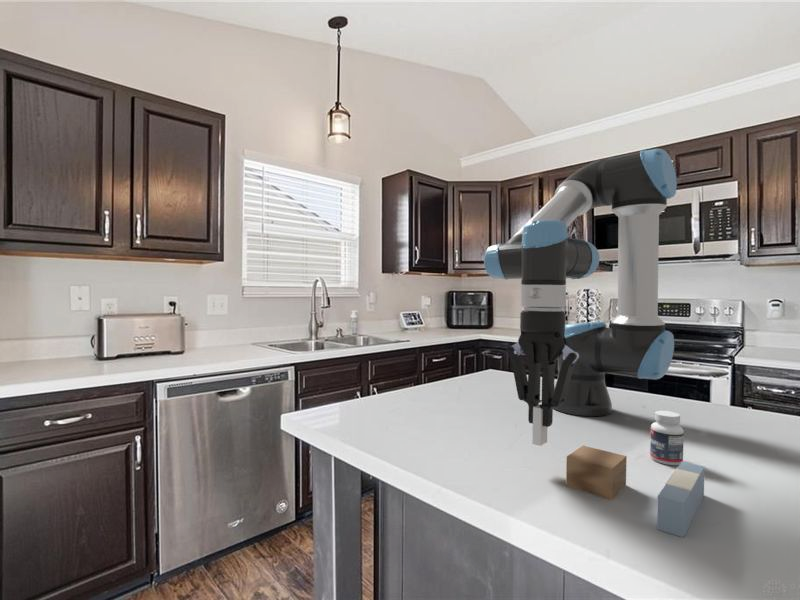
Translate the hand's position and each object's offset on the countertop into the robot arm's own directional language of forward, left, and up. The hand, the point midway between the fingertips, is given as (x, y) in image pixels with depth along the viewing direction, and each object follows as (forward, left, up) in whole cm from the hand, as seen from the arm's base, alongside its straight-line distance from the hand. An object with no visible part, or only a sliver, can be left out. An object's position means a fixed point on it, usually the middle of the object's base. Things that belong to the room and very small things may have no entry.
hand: (539, 442), depth 78 cm
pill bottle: (+16, +20, -5) cm, 26 cm away
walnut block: (+10, 0, -5) cm, 11 cm away
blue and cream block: (+22, 0, -5) cm, 22 cm away
